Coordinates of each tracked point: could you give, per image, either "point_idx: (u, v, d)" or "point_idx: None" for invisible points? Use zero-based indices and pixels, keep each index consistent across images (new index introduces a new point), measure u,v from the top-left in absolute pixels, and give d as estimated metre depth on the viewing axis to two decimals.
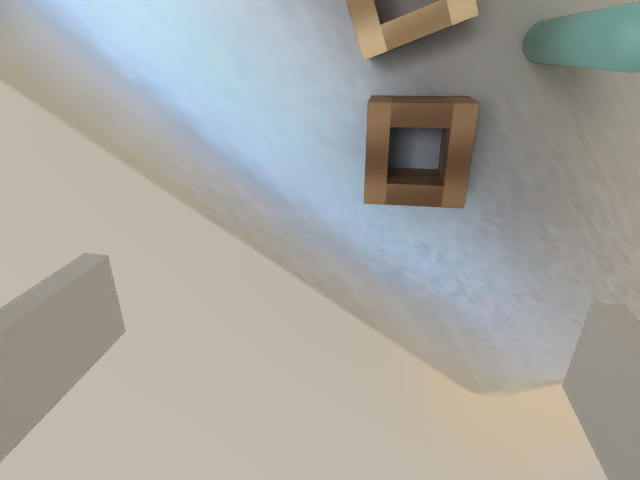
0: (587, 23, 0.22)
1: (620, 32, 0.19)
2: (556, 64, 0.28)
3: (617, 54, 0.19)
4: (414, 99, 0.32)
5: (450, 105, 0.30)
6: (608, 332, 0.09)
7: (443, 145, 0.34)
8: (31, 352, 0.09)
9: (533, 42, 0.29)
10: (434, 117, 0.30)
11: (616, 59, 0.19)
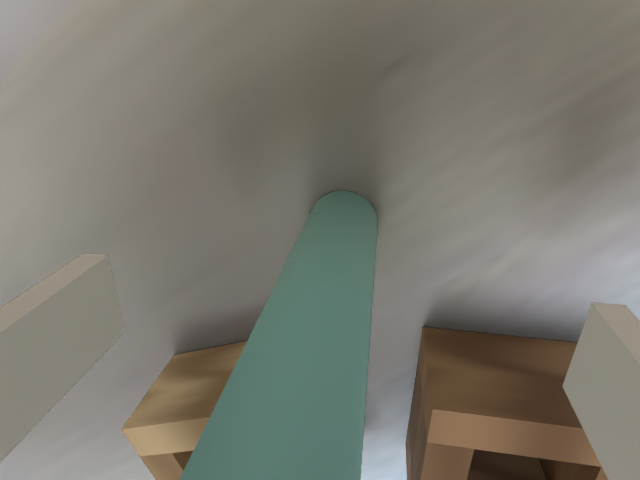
0: None
1: None
2: None
3: None
4: (415, 439, 0.19)
5: (429, 447, 0.16)
6: (607, 332, 0.09)
7: None
8: (31, 352, 0.09)
9: None
10: (448, 469, 0.16)
11: None
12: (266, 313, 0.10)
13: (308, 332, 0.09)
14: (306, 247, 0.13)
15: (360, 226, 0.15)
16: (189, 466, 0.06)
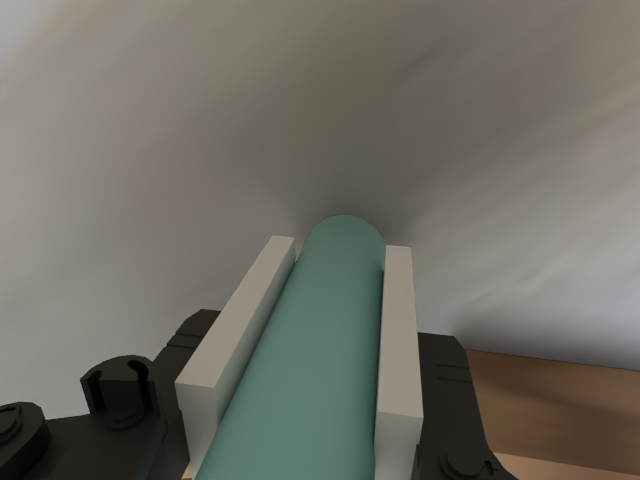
0: None
1: None
2: None
3: None
4: None
5: None
6: (385, 264, 0.12)
7: None
8: (269, 318, 0.11)
9: None
10: None
11: None
12: (237, 407, 0.07)
13: (291, 456, 0.06)
14: (296, 298, 0.10)
15: (365, 265, 0.12)
16: None
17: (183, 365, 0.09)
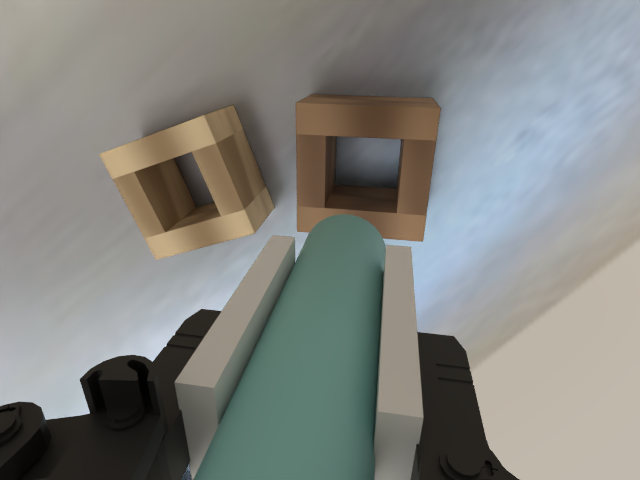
0: None
1: None
2: None
3: None
4: None
5: (298, 138, 0.24)
6: (384, 264, 0.12)
7: None
8: None
9: None
10: (312, 157, 0.24)
11: None
12: (236, 408, 0.07)
13: (290, 457, 0.06)
14: (296, 298, 0.10)
15: (365, 264, 0.12)
16: None
17: (183, 365, 0.09)
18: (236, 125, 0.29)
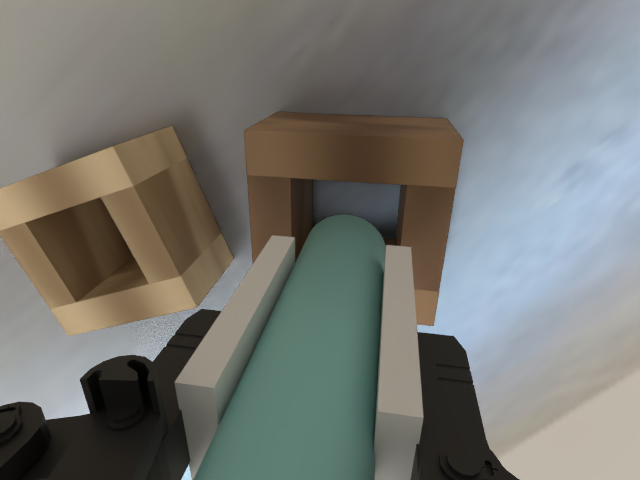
0: None
1: None
2: None
3: None
4: None
5: (250, 181, 0.16)
6: (385, 264, 0.12)
7: None
8: None
9: None
10: (272, 207, 0.17)
11: None
12: (236, 408, 0.07)
13: (289, 457, 0.06)
14: (296, 298, 0.10)
15: (365, 264, 0.12)
16: None
17: (183, 365, 0.09)
18: (175, 154, 0.21)
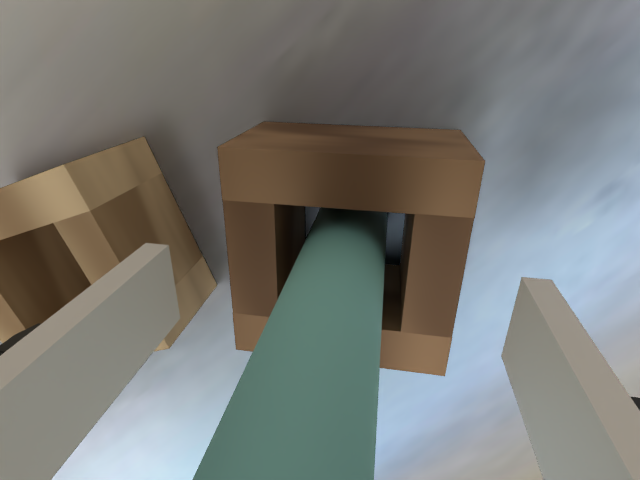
0: None
1: None
2: None
3: None
4: None
5: (227, 207, 0.14)
6: (530, 302, 0.10)
7: None
8: (111, 333, 0.10)
9: None
10: (252, 238, 0.14)
11: None
12: (284, 298, 0.10)
13: (326, 315, 0.09)
14: (320, 238, 0.13)
15: (371, 219, 0.15)
16: (218, 434, 0.07)
17: None
18: (147, 169, 0.18)
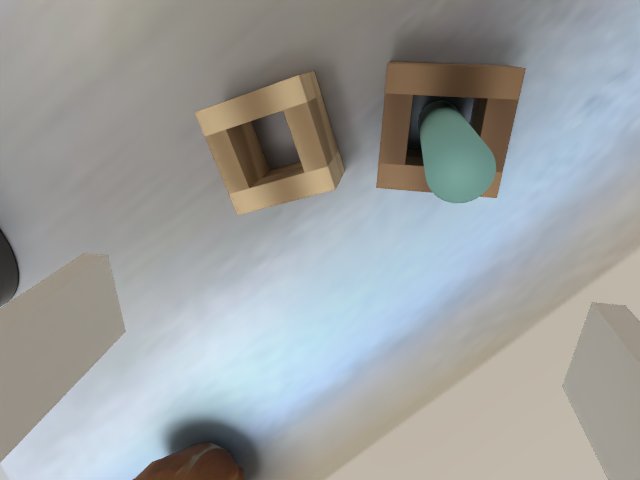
0: None
1: (451, 191, 0.19)
2: None
3: (472, 190, 0.19)
4: None
5: (386, 97, 0.26)
6: (607, 332, 0.09)
7: None
8: (31, 352, 0.09)
9: None
10: (398, 115, 0.26)
11: (477, 190, 0.18)
12: (433, 124, 0.23)
13: (459, 121, 0.21)
14: (437, 112, 0.25)
15: (458, 111, 0.27)
16: (434, 141, 0.19)
17: None
18: (317, 90, 0.31)
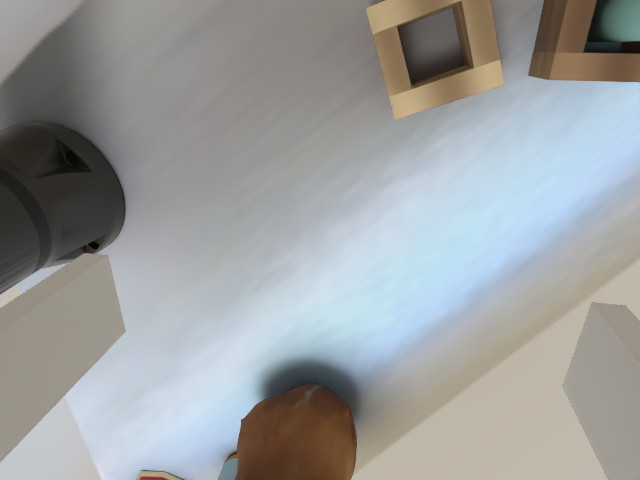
0: None
1: None
2: None
3: None
4: (550, 25, 0.29)
5: None
6: (607, 332, 0.09)
7: None
8: (31, 352, 0.09)
9: None
10: None
11: None
12: None
13: None
14: None
15: None
16: None
17: None
18: None
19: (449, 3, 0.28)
